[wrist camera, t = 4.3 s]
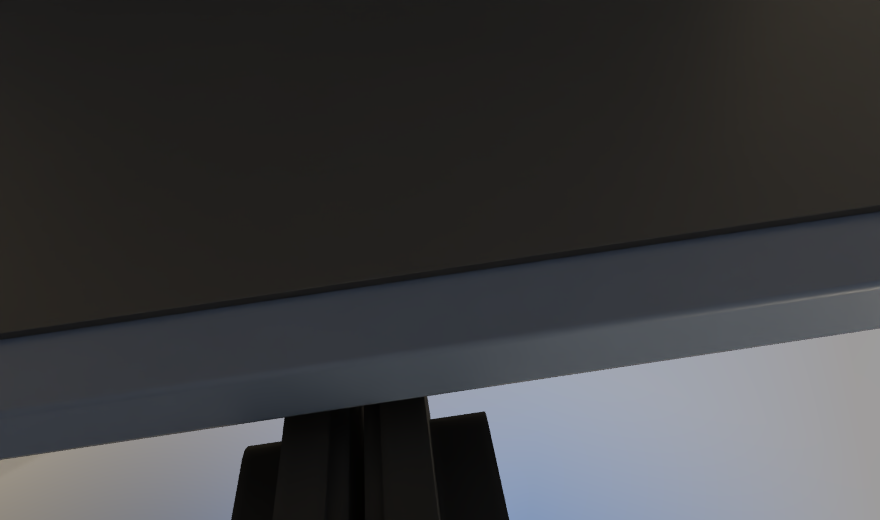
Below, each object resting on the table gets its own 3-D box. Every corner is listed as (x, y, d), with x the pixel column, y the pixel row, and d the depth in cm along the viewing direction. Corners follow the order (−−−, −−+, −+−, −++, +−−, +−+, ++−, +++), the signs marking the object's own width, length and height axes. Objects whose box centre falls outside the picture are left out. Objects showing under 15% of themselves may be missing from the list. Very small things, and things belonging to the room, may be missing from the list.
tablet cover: (-861, 534, 8) (-775, 578, 8) (1458, 192, 8) (1407, 252, 9) (-128, -35, 20) (-112, -3, 21) (777, -157, 21) (772, -124, 21)
